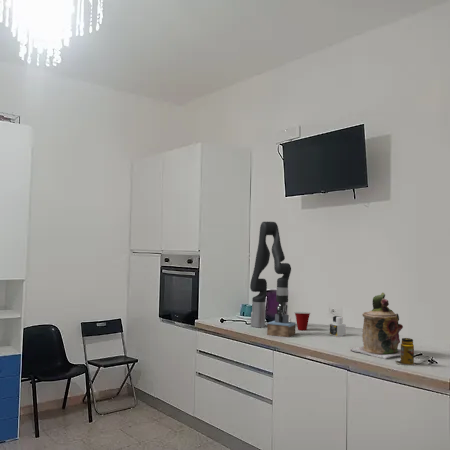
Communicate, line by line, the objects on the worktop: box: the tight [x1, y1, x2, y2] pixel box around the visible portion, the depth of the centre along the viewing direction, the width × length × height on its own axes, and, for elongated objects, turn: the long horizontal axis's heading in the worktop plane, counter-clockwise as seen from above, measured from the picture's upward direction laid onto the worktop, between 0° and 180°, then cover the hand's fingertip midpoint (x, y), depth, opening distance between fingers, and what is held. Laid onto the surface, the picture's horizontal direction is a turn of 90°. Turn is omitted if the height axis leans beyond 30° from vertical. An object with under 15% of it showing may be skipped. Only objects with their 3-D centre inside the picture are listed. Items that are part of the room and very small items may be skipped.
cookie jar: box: [349, 292, 404, 360], centre depth 267 cm, size 25×25×32 cm
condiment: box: [394, 337, 416, 366], centre depth 243 cm, size 7×8×12 cm
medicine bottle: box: [329, 315, 347, 337], centre depth 318 cm, size 7×7×12 cm
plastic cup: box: [294, 311, 311, 331], centre depth 337 cm, size 11×11×12 cm
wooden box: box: [266, 323, 296, 338], centre depth 316 cm, size 14×13×7 cm
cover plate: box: [267, 313, 296, 327], centre depth 316 cm, size 14×12×6 cm
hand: (281, 321), depth 316 cm, fingers closed on cover plate, 3 cm apart
